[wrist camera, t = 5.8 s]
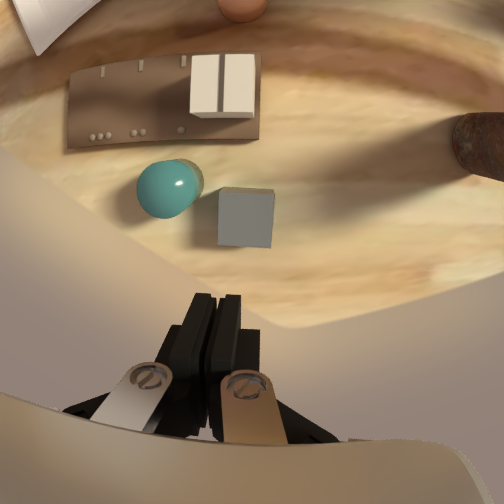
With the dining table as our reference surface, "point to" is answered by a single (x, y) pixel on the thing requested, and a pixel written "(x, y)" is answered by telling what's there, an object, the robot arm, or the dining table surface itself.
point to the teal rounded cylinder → (169, 187)
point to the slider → (223, 86)
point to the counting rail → (147, 103)
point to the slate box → (245, 217)
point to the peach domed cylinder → (242, 9)
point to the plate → (49, 19)
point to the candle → (481, 144)
